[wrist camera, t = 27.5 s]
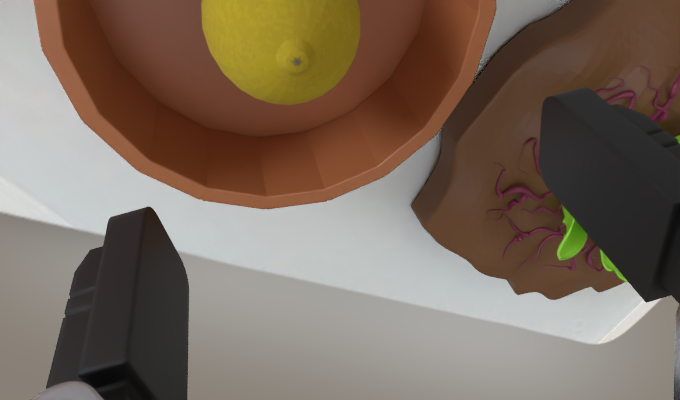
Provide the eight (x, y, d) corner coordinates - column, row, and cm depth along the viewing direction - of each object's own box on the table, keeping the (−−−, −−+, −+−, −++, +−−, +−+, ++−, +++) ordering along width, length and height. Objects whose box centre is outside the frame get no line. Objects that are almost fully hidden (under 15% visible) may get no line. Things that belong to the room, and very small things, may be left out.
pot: (79, -353, 16) (35, -406, 12) (506, -152, 21) (583, -137, 17) (52, 106, 24) (21, 175, 20) (369, 165, 29) (399, 229, 25)
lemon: (332, -93, 21) (390, -43, 15) (336, 44, 24) (383, 132, 18) (188, -84, 20) (184, -28, 14) (212, 57, 24) (218, 152, 17)
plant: (592, -104, 23) (828, -40, 15) (807, 67, 32) (1037, 172, 23) (365, 233, 32) (427, 395, 24) (580, 295, 41) (684, 432, 32)
